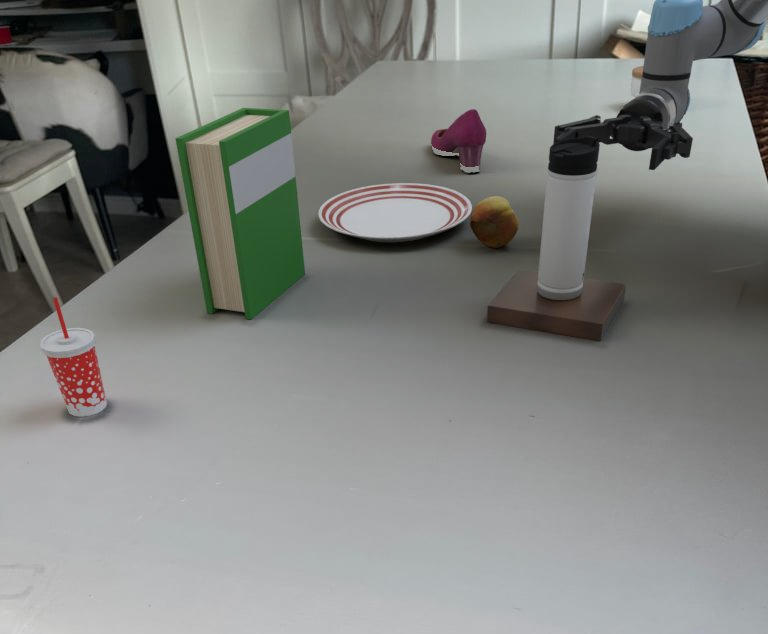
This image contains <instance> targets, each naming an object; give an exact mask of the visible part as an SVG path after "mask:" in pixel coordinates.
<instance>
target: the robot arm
mask: <svg viewBox="0 0 768 634" xmlns="http://www.w3.org/2000/svg"><path fill="white" fill-rule="evenodd" d="M766 21H768V0H719V1H718V2H717V3H715V4H709V5H704V0H655V1H654V2H653V3H652V9H651V12H650V18H649V24H648V25H647V37H646V44H645V51H644V58H643V65H642V66H643V73H642V78H641V85H640V92H639V95H638V96H636V97H635V98H634V99H632V98H631V100H630V101H628V102H627V103H626V104H625V105H623V107H622V108H621V109H620V110H619V112H617V115H616V117H612V118H606V119H604V120H603V121H602V120H601V119H602V117H601V116H600V115H599V114H596V115H593V116H591V117H589V118H585V119H580V120H576V121H572V122H567V123H563V124H558V125H555V126H554V131H553V143H552V145H553V144H554V143H556V142H558V141H561V140H565V139H570V138H584V137H585V136H592V137H596V138H599V144H600V143H602V144H603V145H606V146H609V145H610V146H611V145H615V144H619V145H621V146H622V147H623V148H625V149H627V150H629V151H632V152H644V151H646V150H649V149H651V151H650V158H649V165H648V170H649V171H655V170H656V169H657V168H658V167H660V165H661V164H662V163H663V162H664V161H665V160H667V161H668V160H672V159H673V158H676V156H677V155H679V156H680V157H681V158H684V159H688V158H690V156H691V150H692V145H693V140H694V138H693V136H691V135H690V133H688V132H687V131H686V130H685V129H684V128H683V122H681V121H682V120H683V118H684V117H685V115H686V114H687V111H688V110H689V107H690V104H691V92H690V90H689V84H690V78H691V74H692V68H693V62H695V61H700V60H705V59H711V58H717V57H724V56H734V55H737V54H739V53H741V52H744V51H747V50H749V49H751V48H753V47H754V46H755V45H756V44H757V43H758V42H759V40H760V39H761V37H762V35H763V32H764V31H765V27H766Z"/></svg>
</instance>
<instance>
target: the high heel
mask: <svg viewBox="0 0 768 634" xmlns="http://www.w3.org/2000/svg"><path fill="white" fill-rule="evenodd" d="M486 141H487V129H486V127H485V124H484V123H483V121H482V119H481V117H480V115H479V112H478V110H477V109H474V108H473V109H472V108H471V109H469V110H467V111H465V112H463V113H462V114H461V115H459V116H458V117H457V118H456V119H455V120H454V121H453V122H452V123H451V124H450V125H449V127H448V128H440V129H437V130H435V131H434V132H433V134H432V135H431V140H430V145H431V144H432V146H433V147H434V148H436V149H438V150H441V151H446V152H452V153H459V156H458V159H459V164H460V163H461V164H462V165H463V166H465V167H475V166H479V165H480V166H481V160H482V153H483V148H484V146H485V144H486ZM459 170H460V171H461V172H463V171H462V170H461V169H460V168H459ZM463 174H467V173H466V172H463Z"/></svg>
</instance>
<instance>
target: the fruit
mask: <svg viewBox="0 0 768 634" xmlns="http://www.w3.org/2000/svg"><path fill="white" fill-rule="evenodd" d="M469 226H470V229H471V231H472V233H473V234H474V236H475V238H476V239H477V240H478V241H479V242H480V243H482V244H484V245H486V246H487V247H489V248H490V249H499V248H501V247H504V246H506V245H508V244H509V243H510V242H511V241H512V240H513V239H514V238H515V237H516V235H517V233H518V230H519V227H520V220H519V218H518V216H517V215H516V213H515V211H514V210H513V209H512V208H511V203H510V202H509V200H508V199H506V198H505V197H503V196H498V195H493V196H489V197H486V198H484V199H482V200H480V201H479V202H478V203H477V204H476V205H475V206H474V208H473V209H472V211H471V213H470V219H469Z"/></svg>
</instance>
